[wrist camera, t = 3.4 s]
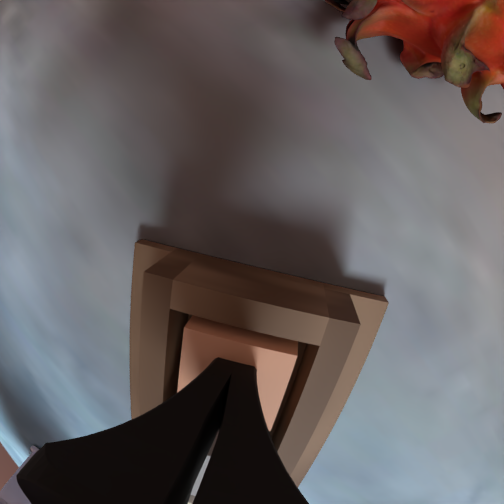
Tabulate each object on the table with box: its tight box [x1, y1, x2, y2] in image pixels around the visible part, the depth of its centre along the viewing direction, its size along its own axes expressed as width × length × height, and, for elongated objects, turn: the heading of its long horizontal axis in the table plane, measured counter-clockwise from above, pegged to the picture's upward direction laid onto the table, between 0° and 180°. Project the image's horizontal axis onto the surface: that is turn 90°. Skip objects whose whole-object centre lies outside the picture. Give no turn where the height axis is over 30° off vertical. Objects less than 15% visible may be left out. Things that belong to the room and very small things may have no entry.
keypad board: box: [130, 239, 388, 488], centre depth 13 cm, size 10×15×3 cm, turn 169°
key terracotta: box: [177, 315, 298, 431], centre depth 11 cm, size 4×4×2 cm
